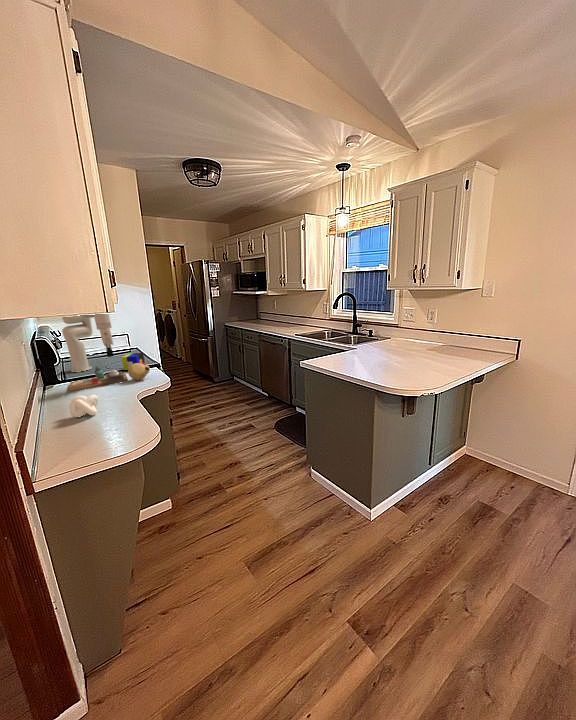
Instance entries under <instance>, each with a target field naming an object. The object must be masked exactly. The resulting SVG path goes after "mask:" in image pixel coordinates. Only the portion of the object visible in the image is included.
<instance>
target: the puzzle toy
mask: <svg viewBox="0 0 576 720" xmlns="http://www.w3.org/2000/svg"><path fill="white" fill-rule="evenodd" d="M144 355H145V354H144V353H143V352H135V353H133V352H131V353H126V354H125V355H123V356H122V357H121V361H122V365H123V371H124V370H129V367H130V366H131V365H132V364H135V363H140V364H143V365H146V361H145V356H144Z"/></svg>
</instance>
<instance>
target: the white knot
mask: <svg viewBox="0 0 576 720" xmlns="http://www.w3.org/2000/svg"><path fill="white" fill-rule="evenodd" d="M98 403H99V397H98V395H96V394H91V395H89V396H85V395H77V396H75V397H73V399H72V400H71V401H70V403H69V413H70V415H71V416H72V417H73V416H74V417H73V418H75V417H79V416H83V415H84V416H86V414H87V415H90V416H95V415H97V413H98V411H97V408H96V407H97V406H98ZM94 414H95V415H94ZM84 416H83V417H84Z"/></svg>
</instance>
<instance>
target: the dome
mask: <svg viewBox="0 0 576 720" xmlns="http://www.w3.org/2000/svg"><path fill="white" fill-rule="evenodd" d="M119 372H120V371H119V370H116V369H111V370H110V371H109V372H108V374H109V377H111V376H117V375H119Z"/></svg>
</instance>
